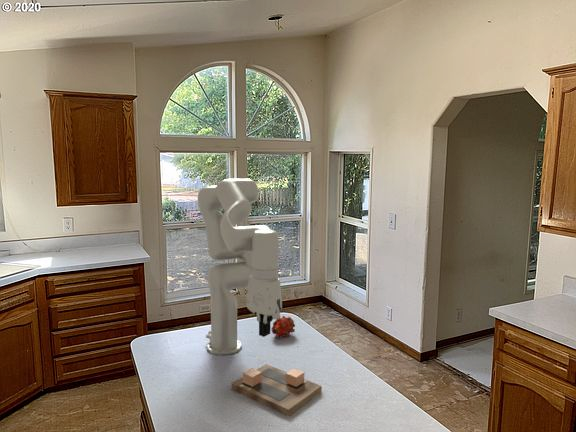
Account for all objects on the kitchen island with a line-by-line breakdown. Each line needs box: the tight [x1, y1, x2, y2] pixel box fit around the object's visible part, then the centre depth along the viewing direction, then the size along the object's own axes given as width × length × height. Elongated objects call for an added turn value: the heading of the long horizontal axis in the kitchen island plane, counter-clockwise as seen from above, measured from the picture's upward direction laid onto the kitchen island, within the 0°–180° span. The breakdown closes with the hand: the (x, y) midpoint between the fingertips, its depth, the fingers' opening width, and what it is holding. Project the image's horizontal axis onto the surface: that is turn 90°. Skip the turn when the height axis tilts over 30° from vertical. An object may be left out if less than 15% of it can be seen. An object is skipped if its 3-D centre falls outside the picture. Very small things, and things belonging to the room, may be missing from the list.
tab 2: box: [286, 368, 305, 387], centre depth 130 cm, size 4×4×3 cm
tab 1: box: [242, 367, 262, 387], centre depth 130 cm, size 4×4×3 cm
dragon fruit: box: [270, 315, 296, 339], centre depth 171 cm, size 8×8×12 cm
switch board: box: [230, 364, 322, 417], centre depth 130 cm, size 22×16×2 cm
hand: (264, 334), depth 126 cm, fingers closed
